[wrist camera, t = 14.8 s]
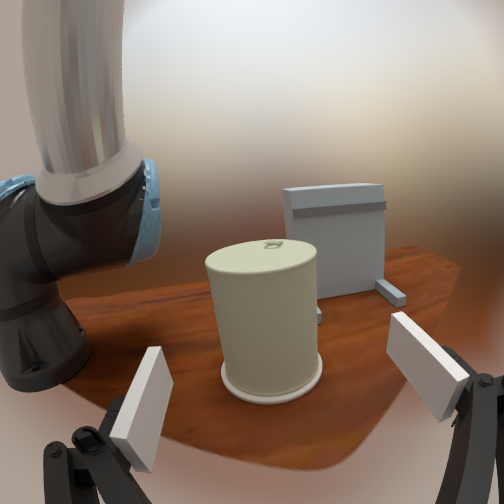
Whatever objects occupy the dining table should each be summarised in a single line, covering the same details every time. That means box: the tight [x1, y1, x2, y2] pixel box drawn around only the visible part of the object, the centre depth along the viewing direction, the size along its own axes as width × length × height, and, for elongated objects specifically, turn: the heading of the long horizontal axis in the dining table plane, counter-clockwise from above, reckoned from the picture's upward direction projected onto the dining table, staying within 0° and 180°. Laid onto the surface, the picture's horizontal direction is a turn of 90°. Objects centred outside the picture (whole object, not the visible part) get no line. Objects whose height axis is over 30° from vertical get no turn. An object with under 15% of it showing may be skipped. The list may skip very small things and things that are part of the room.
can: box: [205, 240, 319, 397], centre depth 24 cm, size 9×9×12 cm
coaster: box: [221, 353, 322, 405], centre depth 26 cm, size 10×10×1 cm
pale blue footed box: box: [282, 183, 406, 324], centre depth 38 cm, size 14×14×16 cm
